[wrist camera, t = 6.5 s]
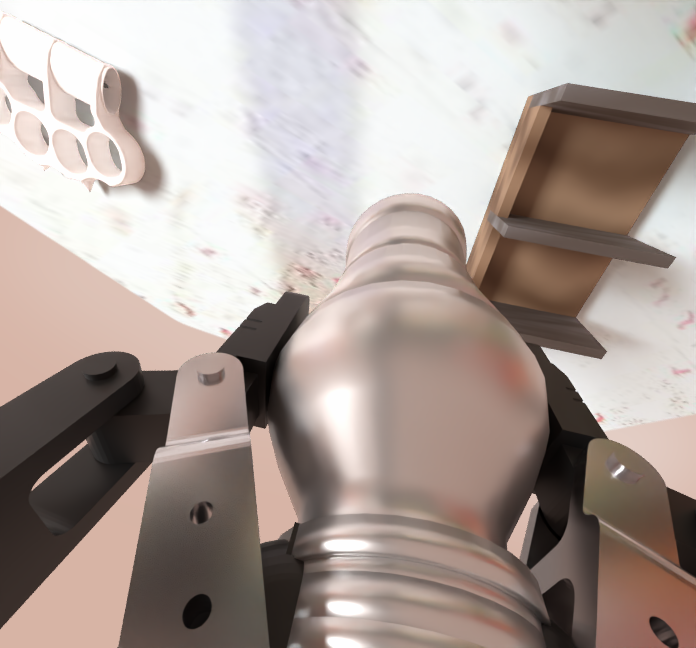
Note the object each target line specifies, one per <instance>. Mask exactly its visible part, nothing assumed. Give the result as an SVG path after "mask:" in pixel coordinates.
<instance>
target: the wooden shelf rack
mask: <svg viewBox="0 0 696 648" xmlns="http://www.w3.org/2000/svg"><path fill="white" fill-rule="evenodd" d="M689 135H696V103H690V102H684V101H677V100H671V99H665V98H658V97H652V96H646V95H639V94H633V93H627V92H620V91H614V90H608V89H601V88H595V87H589V86H582V85H576V84H570V83H567V84H564V85H561V86H558V87H555V88H552V89H549V90H546V91H543V92H540V93H537V94H535V95H532V96H529V97H528V99H527V101H526V104H525V107H524V109H523V112H522V115H521V118H520V120H519V123H518V126H517V128H516V131H515V134H514V137H513V139H512V142H511V145H510V147H509V150H508V153H507V156H506V158H505V161H504V164H503V167H502V169H501V172H500V175H499V177H498V180H497V183H496V186H495V188H494V191H493V194H492V196H491V199H490V202H489V205H488V207H487V210H486V213H485V215H484V218H483V221H482V224H481V226H480V229H479V232H478V235H477V237H476V240H475V243H474V245H473V248H472V251H471V254H470V256H469V259H468V262H467V264H466V268H467V272H468V273H469V275H470V276H471V278H472V280H473V282H474V283H475V285H476V287H477V288H478V289H479V290H480V291H481V292H482V294H483V295H484V296H485V297H486V298H487V299H488V300H489V301H490V302H491V303H492V304H493V305H494V306H495V307H496V309H497V310H498V311H499V312H500V313H501V314H502V315H503V316H504V317H505V318H506V319H507V320H508V321H509V323H510V324H511V325H512V326H513V327H514V329H515V330H516V331H517V332H518V333H519V334H520V336H521V337H522V339H523V340H524V342H529V343H534V344H538V345H539V346H541V347H546V348H551V349H556V350H560V351H565V352H570V353H575V354H579V355H584V356H589V357H594V358H598V359H602V358H603V356H604V355H605V353H606V352H607V351H606V350H605V349H604V348H603V347H602V346H601V344H600V343H599V342H598V341H597V340H596V339H595V338H594V337H593V336H592V335H591V334H590V333H589V332H588V330H587V329H586V328H585V327H584V326H583V325H582V324H581V323H580V322H579V321H578V320H577V319H576V316H577V315H578V313H579V311H580V310H581V308H582V306H583V305H584V303H585V302H586V300H587V298H588V297H589V295H590V294H591V292H592V290H593V289H594V287H595V286H596V284H597V282H598V281H599V279H600V278H601V276H602V274H603V273H604V271H605V270H606V268H607V266H608V265H609V263H610V262H611V260H612V258H615V259H621V260H626V261H631V262H636V263H642V264H647V265H652V266H657V267H663V268H669V266H670V265H671V264H672V262H673V261H674V260H675V258H676V257H674V256H672V255H669V254H667V253H665V252H663V251H660V250H658V249H656V248H654V247H651V246H649V245H647V244H645V243H643V242H640V241H638V240H636V239H634V238H631V237H629V236H627V234H628V233H629V231H630V229H631V228H632V226H633V225H634V223H635V221H636V220H637V218H638V217H639V215H640V213H641V212H642V210H643V209H644V207H645V205H646V204H647V202H648V200H649V199H650V197H651V196H652V194H653V192H654V191H655V189H656V188H657V186H658V184H659V183H660V181H661V180H662V178H663V176H664V175H665V173H666V172H667V170H668V168H669V167H670V165H671V164H672V162H673V160H674V159H675V157H676V156H677V154H678V152H679V151H680V149H681V147H682V146H683V144H684V143H685V141H686V139H687V138H688V136H689Z"/></svg>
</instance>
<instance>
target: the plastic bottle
mask: <svg viewBox="0 0 696 648" xmlns="http://www.w3.org/2000/svg"><path fill="white" fill-rule="evenodd" d="M466 251H467V248H466V238H465V233H464V229H463V227H462V225H461V223H460V220H459V218H458V217H457V216H456V215H455V213H454V212H453V211H452V210H451V209H450V208H449V207H448V206H446V205H445V204H444V203H442V202H441V201H439V200H437V199H434V198H432V197H430V196H426V195H422V194H411V193H404V194H399V195H393V196H390V197H387V198H385V199H382V200H380V201H378V202H377V203H375V204H374V205H372V206H370V207H369V208H368V209H367V210H366V211H365V212H364V213H363V214H362V215H361V216H360V217H359V219H358V220H357V221H356V223H355V224H354V226H353V228H352V231H351V233H350V235H349V239H348V244H347V250H346V268H345V271H344V273H343V275H342V276H341V278H340V279H339V281H338V282H337V284H336V286H335V287H334V288H333V289H332V291H331V292H330V293H329V294H328V295H327V296H326V297H325V298H324V299H323V300H322V301H321V302H320V303H319V304H318V305H317V306H316V308H315V309H314V310H313V311H312V312H311V313H310V314H309V315H308V316H307V317H306V318H305V319H304V321H303V322H302V323H301V324H300V326H299V327H298V328H297V330H296V331H295V332H294V334H293V335H292V336H291V338H290V339H289V341H288V342H287V343H286V345H285V346H284V347H283V349H282V350H281V352H280V354H279V356H278V359H277V361H276V363H275V366H274V370H273V373H272V381H271V388H270V396H269V403H268V411H267V419H268V426H269V433H270V437H271V440H272V444H273V448H274V452H275V456H276V460H277V464H278V468H279V470H280V473H281V476H282V478H283V481H284V484H285V486H286V489H287V491H288V494H289V497H290V499H291V502H292V504H293V507H294V510H295V512H296V515H297V517H298V523H300V524H299V527H298V531H297V535H296V539H295V543H294V547H293V551H292V554H291V555H292V556H294V558H296V559H299V560H303V561H304V572H303V578H302V583H301V587H300V592H299V596H298V601H297V605H296V610H295V614H294V619H293V623H292V628H291V632H290V636H289V640H288V645H287V648H546V644H545V640H544V636H543V632H542V627H541V623H544V624H547V625H550V626H551V623H550V620H549V616H548V613H547V610H546V607H545V603H544V600H543V597H542V594H541V590H540V587H539V584H538V581H537V579H536V578H535V576H534V575H533V573H532V572H531V571H530V569H529V568H528V566H526V565H525V564H524V563H523V562H522V561H520V560H519V559H518V558H517V557H515V556H514V555H513V554H512V553H510V552H509V551H507V542H508V540H509V538H510V536H511V534H512V532H513V530H514V528H515V526H516V524H517V522H518V520H519V518H520V516H521V514H522V512H523V510H524V508H525V506H526V504H527V502H528V500H529V498H530V496H531V494H532V492H533V490H534V486H535V483H536V480H537V477H538V474H539V471H540V468H541V464H542V461H543V458H544V455H545V452H546V448H547V443H548V438H549V433H550V429H549V414H548V400H547V391H546V384H545V377H544V375H543V373H542V370H541V368H540V366H539V364H538V362H537V360H536V357H535V356H534V354H533V353H532V352H531V350H530V349H529V348H528V346H527V345H526V343H525V342H524V340H523V339H522V337H521V336H520V334H519V333H518V332H517V331H516V330H515V329H514V327H513V326H512V325H511V324H510V323H509V321H508V320H507V319H506V318H505V317H504V316H503V315H502V314H501V313H500V312H499V311H498V310H497V309H496V307H495V306H494V305H493V304H492V303H491V302H490V301H489V300H488V299H487V298H486V297H485V296H484V295H483V294H482V292H481V291H480V290H479V289H478V288H477V287H476V285H475V283H474V282H473V280H472V278H471V276H470V275H469V273H468V272H467V268H466ZM292 531H293V527H292V528H291V529H289V530H288V531H286V532H285V533H283V534H282V535H281V536H280V538H279V539H278V540H281V539H286V540H288V541H290V537H291V534H292Z"/></svg>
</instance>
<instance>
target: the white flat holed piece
mask: <svg viewBox="0 0 696 648" xmlns="http://www.w3.org/2000/svg"><path fill="white" fill-rule="evenodd" d="M28 75H30V76H32V77H35V78H37V79H39V80H41V81H43V90H44V101H45V104H44V103H42V102H41V101H40V100H39V98H38V96H37V94H36V93H35V91H34V90H33V89H32V87H31V86H30V85H29V83H28V79H27V78H28ZM104 83H105V84H107V85H108V87H109V88H104V87H103V84H104ZM5 95H7V96H8V98H9V101H10V103H11V108H12V114H11V113H10V111H9V109H8V107H7V104H6V100H5ZM75 98H77V99H79V100H81V101H83V102H85V103H87V104H89V105H91V113H92V115H93V117H94V119H95V125H94V126H93V127H91V126H89V125H87V124H85V123H83V122H81V121H80V120H79V118H78V117H77V114H76V102H75ZM120 104H121V81H120V77H119V74H118V72H117V70H116V69H115V68H114V67H113V66H111V65H109V64H106V63H103V62H101V61H99V60H97V59H95V58H93V57H91V56H89V55H87V54H86V53H84V52H82V51H80V50H78V49H76V48H74V47H72V46H70V45H68V44H66V43H65V42H64V41H62V40H59V39H56V38H54V37H52V36H50V35H48V34H46V33H44V32H42V31H40V30H38V29H36V28H34V27H32V26H30V25H28V24H26V23H24V22H22V21H20V20H18V19H17V18H16V17H14V16H12V15H10V14H7V13H5V12H2V11H0V133H2V134H4V135H6V136H8V137H9V138H11V139H12V140H13V141H14V142H15V143H16V144H17V145H18V146H19V147H20V148H21V150H22V151H23V152H24V154H26V155H27V156H28V157H30V158H31V159H33V160H34V161H35V162H37V163H38V164H39V165H41V166H42V167H43V169H44V171H45V170H46V169H48V168H49V167H50V166H51V167H53V168H55V169H57V170H59V171H60V172H61V173H63V174H64V175H65V176H66V177H67V178H69V179H74V180H79V181H81V182H82V183H83V184H84V185H85V187H86V188H87V189H88V190H89V191H90V192H91V189H92V186H93V184H94V181H95V180H98V179H99V180H101V181H103V182H105V183H106V184H108V185H109V186H111V187H116V186H122V185H128V184H134V183H137V182H138V181H140V180H141V178H142V177H143V175H144V172H145V159H144V155H143V152H142V150H141V148H140V146H139V144H138V143H137V141H136V140H135V139H134V137H133V136H132V135H131V134H130V133H129V132H127V131H126V130H125V128H124V126H123V124H122V122H121V120H120V118H119V107H120ZM42 123H43V125H44V126H45V128H46V130H47V132H48V135H49V146H48V145H47V144H46V142H45V141H44V139H43V136H42V133H41V125H42ZM76 139H78V140H79V141H80V143H81V144H82V146H83V148H84V151H85V154H86V158H87V162H88V166H87V165H86V164H85V163H84V162H83V160H82V159H81V156H80V154H79V150H78V147H77V142H76ZM110 139H111V140H112V141H113V142H114V143H115V145H116V147H117V149H118V151H119V154H120V158H121V162H122V171H120V170H119V169H118V168H117V167H116V165H115V164H114V162H113V160H112V157H111V153H110V149H109V140H110Z"/></svg>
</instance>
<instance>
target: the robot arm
mask: <svg viewBox="0 0 696 648" xmlns="http://www.w3.org/2000/svg"><path fill="white" fill-rule="evenodd" d="M308 312H309V296H306V295H302V294H297V293H292V292H285V293H284V294H283V296H282V297H281V298H280V299H279V301H278V302H277V303H276V304H272V303H266V304H263V305H261V306H259V307H257V308H255V309H254V310H253V311H252V312H251V313H250V315H249V316H248V317H247V319H245V320H244V321H243V322H242V324H241V325H240V327H238V328H237V329H236V330H235V332H234V333H233V334H232V335H231V336H230V337H229V338H228V339H227V341H226V342H225V343H224V344H223V345H222V346H221V347H220V348H219V350H218V351H217V352H216V353H206V354H202V355H199V356H196V357H193V358H191V359H190V360H188V361H186V362H185V363H184V364H183V365H182V366H181V367H180V369H179V370H174V371H142V370H141V366H140V363H139V360H138V359H137V358H136V357H135V356H134V355H132V354H129V353H125V352H104V353H99V354H94V355H91V356H88V357H85V358H83V359H81V360H79V361H77V362H75V363H73V364H72V365H70V366H68V367H66V368H65V369H63V370H61V371H60V372H58V373H56V374H55V375H53V376H52V377H50V378H48V379H46V380H45V381H43V382H41V383H40V384H38V385H36V386H35V387H33V388H31V389H30V390H28V391H26V392H25V393H23V394H21V395H20V396H18V397H16V398H15V399H13V400H11V401H10V402H8V403H6V404H5V405H3V406H1V407H0V629H1V628H2V627H3V625H4V624H5V623H6V622H7V621H8V620H9V618H11V616H13V614H14V613H15V612H16V611H17V610H18V609H19V608H20V607H21V606H22V605H23V604H24V602H25V601H26V600H27V599H28V598H29V597H30V596H31V595H32V593H34V591H35V590H36V589H37V588H38V587H39V586H40V585H41V584H42V583H43V581H44V580H45V579H46V578H47V577H48V576H49V575H50V574H51V573H52V571H54V570H55V568H56V567H57V566H58V565H59V564H60V563H61V562H62V561H63V560H64V559H65V557H66V556H67V555H68V554H69V553H70V552H71V551H72V550H73V549H74V548H75V546H76V545H77V544H78V543H79V542H80V541H81V540H82V539H83V538H84V537H85V536H86V534H87V533H88V532H89V531H90V530H91V529H92V528H93V527H94V526H95V525H96V523H97V522H98V521H99V520H100V519H101V518H102V517H103V516H104V515H105V513H106V512H107V511H108V510H109V509H110V508H111V507H112V506H113V505H114V504H115V503H116V502H117V500H118V499H119V498H120V497H121V496H122V495H123V494H124V493H125V492H126V491H127V489H128V488H129V487H130V486H131V485H132V484H133V483H134V482H135V481H136V480H137V478H138V477H139V476H140V475H141V474H142V473H143V472H144V471H145V470H146V468H148V466H149V465H150V464H151V463H152V462H153V464H152V469H151V474H150V480H149V485H148V490H147V496H146V501H145V507H144V512H143V517H142V523H141V528H140V534H139V539H138V544H137V550H136V555H135V561H134V566H133V571H132V576H131V582H130V587H129V593H128V598H127V604H126V609H125V614H124V619H123V625H122V630H121V636H120V641H119V647H118V648H287V645H288V640H289V636H290V632H291V628H292V623H293V619H294V614H295V610H296V605H297V601H298V596H299V592H300V587H301V583H302V578H303V572H304V561H303V560H299V559H296V558H294V556H292V555H291V554H292V551H293V547H294V543H295V539H296V535H297V531H298V527H299V524H300V523H296V522H295V524H294V527H293V531H292V534H291V537H290V541H288V540H286V539H281V540H275V541H269V542H265V543H262V544H260V538H259V527H258V516H257V505H256V495H255V483H254V472H253V461H252V451H251V440H250V431H251V429H252V427H253V426H256V427H261V428H266V426H267V424H268V419H267V411H268V403H269V396H270V388H271V381H272V373H273V370H274V366H275V363H276V361H277V359H278V356H279V354H280V352H281V350H282V349H283V347H284V346H285V345H286V343H287V342H288V341H289V339H290V338H291V336H292V335H293V334H294V332H295V331H296V330H297V328H298V327H299V326H300V324H301V323H302V322H303V321H304V319H305V318H306V317H307V316H308ZM525 343H526V345H527V346H528V348H529V349H530V350H531V352H532V353H533V354H534V356H535V357H536V360H537V362H538V364H539V366H540V368H541V370H542V373H543V375H544V377H545V384H546V391H547V400H548V414H549V429H550V433H549V438H548V443H547V448H546V452H545V455H544V458H543V461H542V464H541V468H540V471H539V474H538V477H537V480H536V483H535V486H534V490H533V492H532V493H533V494H536V496H537V499H538V502H537V503H536V504H535V505H534V507H533V508H532V510H531V513H530V517H529V521H528V526H527V530H526V534H525V538H524V543H523V547H522V551H521V555H520V559H519V560H520V561H522V562H523V563H524V564H525V565H526V566H528V568H529V569H530V571H531V572H532V573H533V575H534V576H535V578H536V579H537V581H538V584H539V587H540V590H541V594H542V597H543V600H544V603H545V607H546V610H547V613H548V616H549V620H550V623H551V626H550V625H547V624H544V623H541V627H542V632H543V636H544V640H545V644H546V648H696V500H695V499H692V498H690V497H688V496H686V495H684V494H681V493H679V492H677V491H675V490H672V489H670V488H668V487H666V485H665V482H664V480H663V479H662V477H661V476H660V474H659V473H658V472H657V470H656V469H655V468H654V467H653V466H652V465H651V464H650V463H649V462H647V461H646V460H645V459H644V458H643V457H641V456H640V455H639V454H637V453H636V452H634V451H633V450H631V449H630V448H628V447H626V446H624V445H622V444H620V443H617V442H614V441H612V440H609V439H608V438H607V436H606V435H605V433H604V432H603V430H602V429H601V427H600V426H599V424H598V422H597V421H596V419H595V418H594V416H593V415H592V413H591V412H590V410H589V409H588V407H587V406H586V404H585V403H582V401H583V400H582V398H581V397H580V395H579V394H578V392H575V390H576V389H575V388H574V386H573V385H572V383H571V382H570V380H569V379H568V377H567V376H566V375H565V374H564V373H563V372H562V371H560V370H559V369H558V368H557V367H556V366H555V365H554V364H552V363H550V361H549V360H548V358H547V357H546V355H545V353H544V352H543V350H542V349H541V347H540V346H539V345H538V344H534V343H529V342H525ZM85 439H86V441H87V443H88V444H87V445H86V446H84V447H83V448H82V449H81V450H80V451H78V452H77V453H76V454H75V455H74V456H72V457H71V458H70V459H69V460H68V461H67V462H65V463H64V464H63V465H62V466H61V467H59V468H58V469H57V470H56V471H55V472H54V473H52V474H51V475H50V476H49V477H48V478H46V479H45V480H44V481H43V482H42V483H41V484H39V485H38V486H37V487H36V488H35V489H34V490H33V491H31V489H32V487H33V486H34V484H35V483H36V482H37V480H38V479H39V478H40V477H41V476H42V475H43V474H44V473H45V472H47V471H48V470H49V469H50V468H51V467H52V466H54V465H55V464H56V463H57V462H59V461H60V460H61V459H62V458H63V457H65V456H66V455H67V454H68V453H69V452H71V451H72V450H73V449H74V448H75V447H77V446H78V445H79V444H80V443H81V442H83V441H84V440H85Z"/></svg>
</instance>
